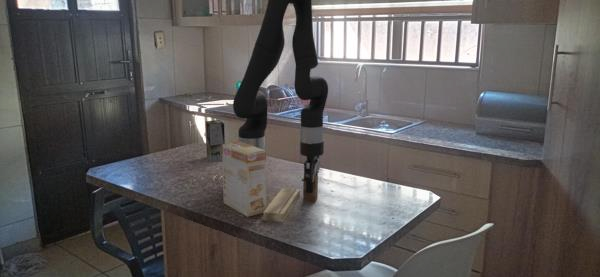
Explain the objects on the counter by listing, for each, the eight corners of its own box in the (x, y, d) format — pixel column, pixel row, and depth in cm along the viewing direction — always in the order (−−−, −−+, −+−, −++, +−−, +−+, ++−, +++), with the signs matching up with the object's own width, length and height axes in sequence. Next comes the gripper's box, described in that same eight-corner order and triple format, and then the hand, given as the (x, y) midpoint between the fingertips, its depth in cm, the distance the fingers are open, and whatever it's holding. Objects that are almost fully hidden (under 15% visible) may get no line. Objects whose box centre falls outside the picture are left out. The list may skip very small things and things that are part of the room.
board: (263, 220, 140) (263, 211, 139) (282, 195, 161) (282, 187, 160) (283, 222, 139) (283, 213, 138) (299, 196, 160) (299, 189, 159)
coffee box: (225, 161, 202) (224, 123, 199) (210, 162, 200) (209, 124, 196) (221, 155, 211) (219, 119, 207) (206, 157, 208) (204, 120, 205)
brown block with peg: (300, 201, 156) (300, 177, 154) (303, 197, 159) (303, 174, 158) (315, 202, 155) (315, 178, 153) (317, 198, 158) (317, 175, 157)
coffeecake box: (267, 212, 146) (266, 150, 142) (247, 217, 142) (245, 153, 138) (242, 198, 158) (240, 140, 153) (222, 203, 153) (220, 143, 149)
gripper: (304, 134, 160) (305, 181, 164) (295, 144, 146) (296, 194, 150) (327, 135, 159) (326, 182, 162) (319, 145, 145) (319, 196, 148)
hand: (312, 188), depth 156 cm, fingers open, 8 cm apart
